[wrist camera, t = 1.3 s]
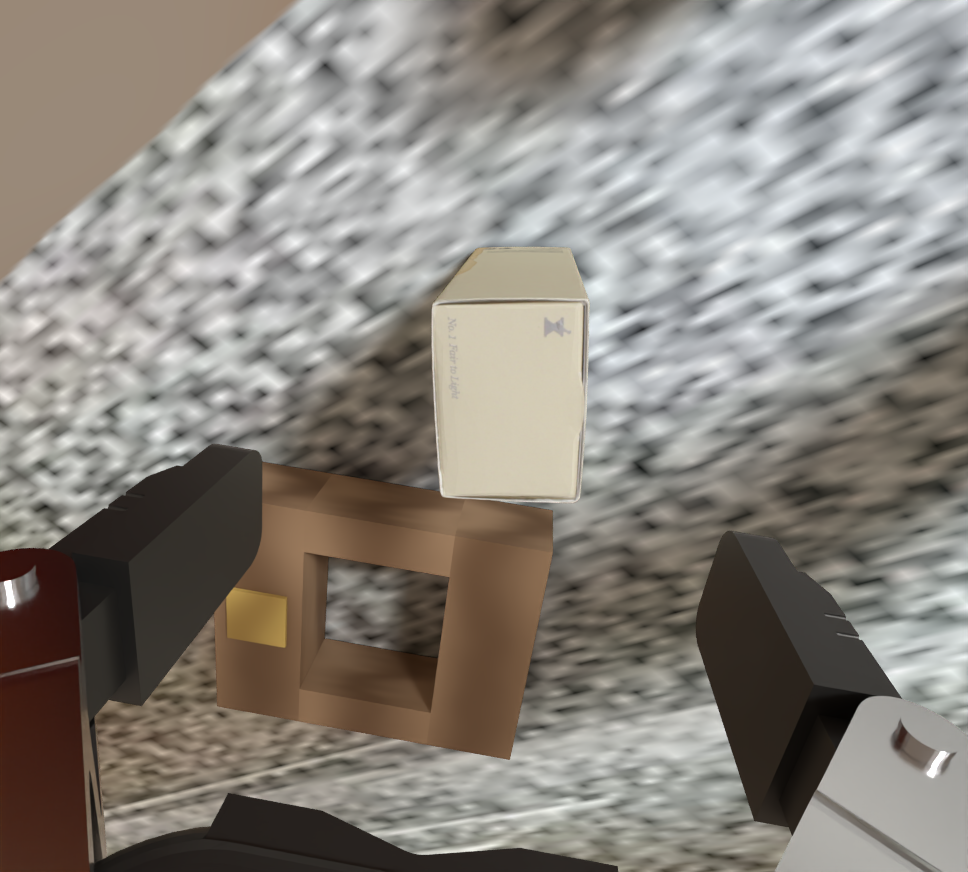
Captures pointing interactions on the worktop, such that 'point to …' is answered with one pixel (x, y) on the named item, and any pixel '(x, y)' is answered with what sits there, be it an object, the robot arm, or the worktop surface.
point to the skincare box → (511, 376)
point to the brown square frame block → (374, 671)
